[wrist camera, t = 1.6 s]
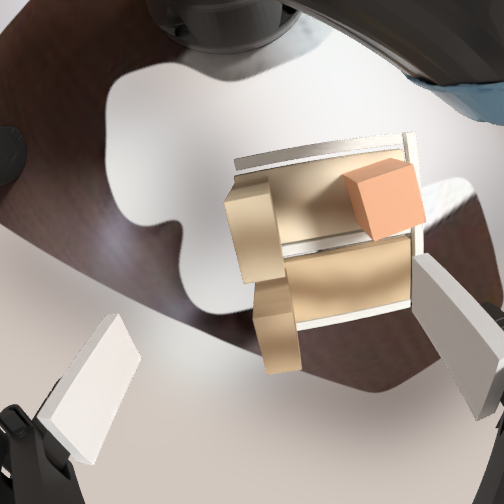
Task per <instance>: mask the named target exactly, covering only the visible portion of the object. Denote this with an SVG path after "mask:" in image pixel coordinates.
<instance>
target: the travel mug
mask: <svg viewBox="0 0 504 504" xmlns="http://www.w3.org/2000/svg"><path fill="white" fill-rule="evenodd" d="M25 160H26V146H25V141H24V138H23V136H22V134H21V132H20V131H19V130H18V129H17V128H15V127H12V126H0V186H2V185H5V184H7V183H9V182H12V181H14V180H15V179H16V178H18V176H19V175H20V174H21V172H22V170H23V168H24V165H25Z"/></svg>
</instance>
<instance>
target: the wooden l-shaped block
mask: <svg viewBox="0 0 504 504" xmlns="http://www.w3.org/2000/svg"><path fill="white" fill-rule="evenodd" d="M283 261H284V268H285V276H286V277H281V278H276V279H270V280H264V281H259V282H255V292H254V306H253V322H254V326H255V330H256V334H257V338H258V341H259V345H260V349H261V353H262V357H263V361H264V364H265V368H266V372H267V375H269V374H275V373H282V372H289V371H296V370H302V366H301V358H300V350H299V342H298V335H297V327H296V322H300V321H306V320H312V319H317V318H322V317H328V316H333V315H338V314H343V313H348V312H353V311H357V310H362V309H367V308H371V307H376V306H380V305H385V304H389V303H393V302H398V301H402V300H406V299H410V283H411V246H410V239H409V238H408V237H407V236H406V235H405V236H400V237H395V238H390V239H385V240H379V241H375V242H369V243H364V244H358V245H353V246H348V247H343V248H337V249H332V250H327V251H321V252H316V253H310V254H305V255H300V256H294V257H289V258H283Z"/></svg>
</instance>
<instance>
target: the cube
mask: <svg viewBox="0 0 504 504" xmlns="http://www.w3.org/2000/svg"><path fill="white" fill-rule="evenodd" d="M342 175H343V178H344V181H345V184H346V187H347V190H348V194H349V197H350V200H351V203H352V206H353V210H354V213H355V216H356V220H357V223H358V225H359V226H360V227H361V228H362V229H363V230H364V231H365V232H366V234H367V235H368V236H369V237H370V238H371V239H372V240H373V241H374V242H375V241H378V240H380V239H383V238H386V237H388V236H391V235H393V234H396V233H399V232H401V231H404V230H406V229H409V228H412V227H414V226H417V225H419V224H422V223H425V222H426V218H425V213H424V208H423V203H422V199H421V194H420V190H419V185H418V181H417V177H416V173H415V169H414V165H413V164H411V163H408V162H404V161H401V160H397V159H393V158H388V159H385V160H382V161H379V162H376V163H373V164H370V165H367V166H364V167H361V168H358V169H355V170H352V171H349V172H346V173H343V174H342Z"/></svg>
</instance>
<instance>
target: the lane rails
mask: <svg viewBox="0 0 504 504" xmlns="http://www.w3.org/2000/svg"><path fill="white" fill-rule="evenodd" d="M402 136H403V139H402ZM403 143H404V149H405V158H406V162H408V163H411V164H413V165H414V169H415V173H416V177H417V181H418V185H419V190H420V194H421V181H420V170H419V160H418V151H417V144H416V136H415V132H407V133H402V134H400V133H395V134H385V135H377V136H368V137H360V138H352V139H345V140H337V141H331V142H324V143H318V144H312V145H305V146H299V147H294V148H288V149H283V150H277V151H272V152H267V153H261V154H256V155H252V156H247V157H242V158H238V159H235V160H234V163H235V167H236V170H242V169H246V168H251V167H256V166H261V165H266V164H271V163H276V162H282V161H287V160H293V159H299V158H304V157H310V156H316V155H323V154H329V153H335V152H342V151H349V150H356V149H363V148H372V147H379V146H387V145H396V144H403ZM421 199H422V194H421ZM406 233H411V242H412V257H413V256H417V255H421V254H423V223H422V224H419V225H417V226H414V227H412V228H409V229H406V230H404V231H401V232H399V233H396V234H393V235H391V236H396V235H401V234H406ZM388 237H390V236H388ZM369 240H372V239H371V238H370V237H369V236H368V235H367V234H366V232H365V231H364V230H363V229H360V230H354V231H349V232H344V233H338V234H333V235H327V236H322V237H316V238H311V239H305V240H300V241H295V242H289V243H284V244H281V245H282V253H283V256H289V255H294V254H299V253H305V252H311V251H316V250H321V249H327V248H332V247H337V246H343V245H348V244H353V243H359V242H364V241H369ZM411 302H412V285H411V299H406V300H402V301H398V302H393V303H389V304H385V305H380V306H376V307H371V308H367V309H362V310H357V311H353V312H348V313H343V314H338V315H333V316H328V317H322V318H317V319H312V320H306V321H300V322H296V327H297V331H298V330H304V329H310V328H315V327H321V326H326V325H331V324H336V323H341V322H346V321H351V320H356V319H360V318H365V317H370V316H374V315H378V314H383V313H387V312H391V311H396V310H400V309H404V308H408V307H410V303H411Z"/></svg>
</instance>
